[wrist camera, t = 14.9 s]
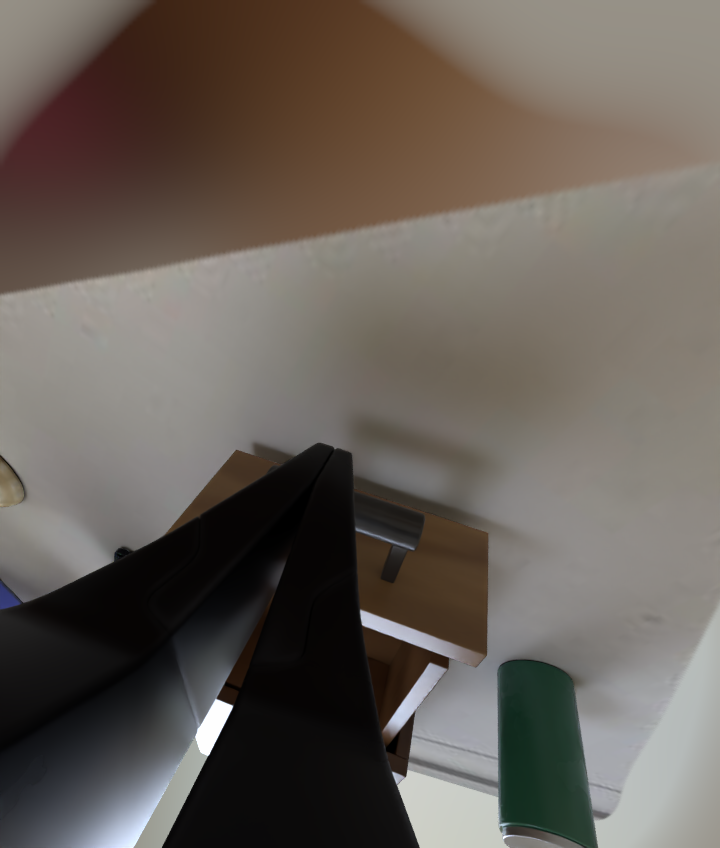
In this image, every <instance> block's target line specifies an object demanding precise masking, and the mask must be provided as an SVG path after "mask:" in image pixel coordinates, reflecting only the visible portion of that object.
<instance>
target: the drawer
mask: <svg viewBox="0 0 720 848" xmlns="http://www.w3.org/2000/svg"><path fill="white" fill-rule="evenodd" d="M280 465H281V464H278V463H275V462H272V461H269V460H266V459H263V458H260V457H257V456H254V455H251V454H248V453H245V452H242V451H239V450H236V451H235V452H234V453H233V454H232V455H231V457H230V458H229V459H228V460H227V461H226V463H225V464H224V465H223V466H222V467H221V468H220V470H219V471H218V472H217V473H216V474H215V476H214V477H213V478H212V479H211V480H210V482H209V483H208V484H207V485H206V486H205V488H204V489H203V490H202V491H201V492H200V493H199V495H198V496H197V497H196V498H195V499H194V501H193V502H192V503H191V504H190V505H189V507H188V508H187V509H186V510H185V511H184V513H183V514H182V515H181V516H180V517H179V518H178V520H177V521H176V522H175V523H174V524H173V526H172V527H171V528H170V529H169V530H168V532H167V533H166V534H168V533H170V532H171V531H173V530H175V529H177V528H178V527H180V526H182V525H183V524H185V523H187V522H188V521H190V520H192V519H193V518H195V517H197V516H198V517H199V518H200V514H202V513H203V512H205V511H207V510H208V509H210V508H212V507H213V506H215V505H216V504H218V503H220V502H221V501H223V500H225V499H226V498H228V497H230V496H231V495H233V494H235V493H236V492H238V491H239V490H241V489H243V488H244V487H246V486H248V485H249V484H251V483H253V482H254V481H256V480H257V479H259V478H261V477H262V476H264V475H266V474H267V473H269V472H271V471H272V470H274V469H276V468H277V467H279V466H280ZM354 505H355V526H356V548H357V569H358V571H357V574H358V587H359V601H360V613H361V621H362V628H363V635H364V641H365V647H366V653H367V658H368V664H369V669H370V675H371V680H372V685H373V691H374V696H375V702H376V707H377V713H378V718H379V723H380V727H381V732H382V736H383V741H384V745H385V749H386V747H387V746H388V745H389V744H390V742H391V741H392V740H393V738H394V737H395V736H396V735H397V733H398V732H399V731H400V730H401V728H402V727H403V726H404V724H405V723H406V722H407V721H408V719H409V718H410V717H411V716H412V714H413V713H414V712H415V710H416V709H417V708H418V707H419V705H420V704H421V703H422V702H423V700H424V699H425V698H426V697H427V695H428V694H429V693H430V691H431V690H432V689H433V688H434V686H435V685H436V684H437V683H438V681H439V680H440V679H441V677H442V676H443V675H444V674H445V672H446V671H447V670H448V667H449V658H451V659H454V660H457V661H459V662H462V663H465V664H468V665H470V666H473V667H477V666H478V665H479V664H480V663H481V661H482V660H483V659H484V658H485V657H486V656H487V615H488V533H487V532H484V531H481V530H478V529H475V528H472V527H469V526H466V525H463V524H460V523H457V522H454V521H451V520H448V519H445V518H442V517H439V516H436V515H433V514H430V513H426V512H423V511H420V510H417V509H414V508H411V507H408V506H405V505H402V504H399V503H396V502H393V501H390V500H387V499H384V498H381V497H378V496H375V495H372V494H369V493H366V492H363V491H360V490H357V489H354ZM166 534H165V535H166ZM274 594H275V593H274ZM273 597H274V595H273ZM273 597H272V599H271V600H270V602H269V604H268V606H267V608H266V609H265V611H264V613H263V615H262V617H261V618H260V620H259V622H258V624H257V626H256V627H255V629H254V631H253V633H252V635H251V636H250V638H249V640H248V642H247V644H246V645H245V647H244V649H243V651H242V653H241V654H240V656H239V658H238V660H237V662H236V663H235V665H234V667H233V669H232V671H231V672H230V674H229V676H228V678H227V680H226V681H225V683H224V685H225V686H227V687H230V688H232V689H235V690H237V691H240V689H241V686H242V683H243V681H244V678H245V675H246V673H247V670H248V668H249V664H250V661H251V658H252V656H253V653H254V650H255V647H256V644H257V642H258V639H259V636H260V633H261V630H262V628H263V625H264V622H265V619H266V616H267V614H268V611H269V608H270V605H271V602H272V600H273Z"/></svg>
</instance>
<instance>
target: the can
mask: <svg viewBox="0 0 720 848" xmlns="http://www.w3.org/2000/svg"><path fill="white" fill-rule="evenodd" d="M497 676H498V802H499V829H500V831H501V832H502V833H503V841H504V842H505V844H506V845H507V846H509V847H510V848H598V844H597V837H596V831H595V824H594V817H593V811H592V804H591V797H590V790H589V784H588V777H587V770H586V764H585V757H584V750H583V743H582V737H581V730H580V723H579V717H578V710H577V703H576V696H575V690H574V684H573V681H572V679H571V678H570V677H569V676H568V675H567V674H566V673H565V672H563V671H561V670H560V669H558V668H556V667H553V666H551V665H548V664H545V663H541V662H536V661H528V660H516V661H510V662H507V663H504V664H503V665H501V666H500V667H499V669H498V673H497Z"/></svg>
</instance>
